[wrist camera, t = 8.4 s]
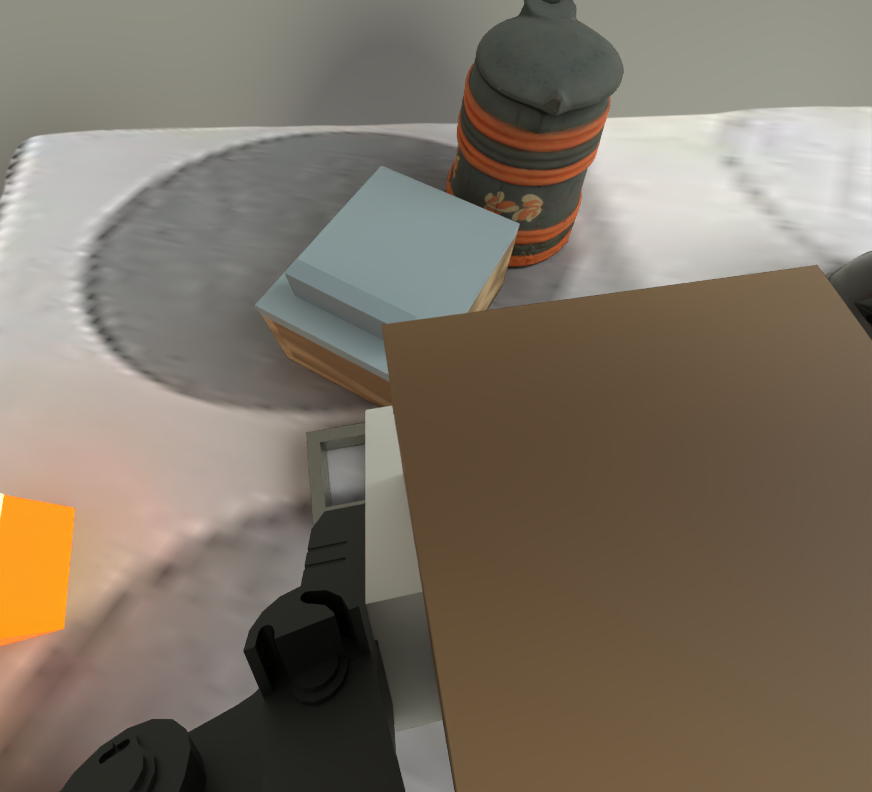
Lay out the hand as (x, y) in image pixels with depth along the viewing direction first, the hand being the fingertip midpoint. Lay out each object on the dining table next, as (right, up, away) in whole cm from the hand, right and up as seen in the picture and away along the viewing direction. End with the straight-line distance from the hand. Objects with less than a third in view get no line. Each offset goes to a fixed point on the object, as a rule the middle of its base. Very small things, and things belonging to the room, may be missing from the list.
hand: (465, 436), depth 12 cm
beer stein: (+7, +23, +35) cm, 43 cm away
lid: (-4, +12, +22) cm, 25 cm away
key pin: (0, -7, +6) cm, 9 cm away
